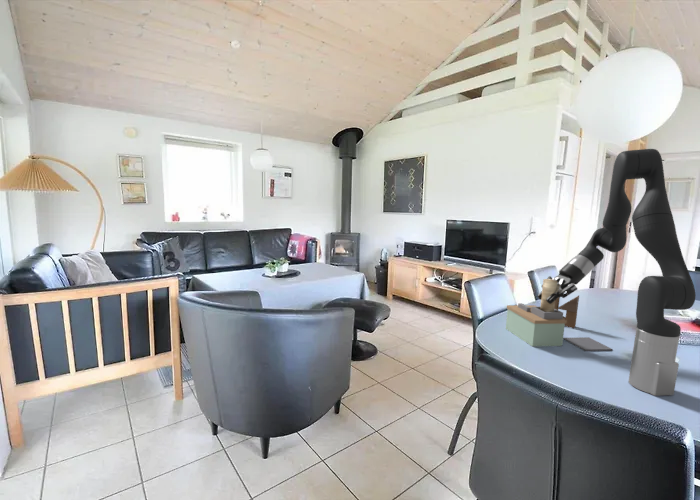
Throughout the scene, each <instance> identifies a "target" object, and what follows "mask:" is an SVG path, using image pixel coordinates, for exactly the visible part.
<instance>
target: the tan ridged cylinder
mask: <svg viewBox="0 0 700 500" xmlns="http://www.w3.org/2000/svg"><path fill="white" fill-rule="evenodd" d="M542 285H543V288H542V287H541V288H542V289H541V291H542V297H541V300H540V305H539V307H540V310H542V311H544V312H554V306H555V301H554V302H552V303H551V304H549V303H548V302H547V301H546V299H547V298H548V297H549V296H550V295H551V294H553V293H554V292H555V290H556V287H557V281H556V280H552V279H547V278H544V279H543V281H542Z"/></svg>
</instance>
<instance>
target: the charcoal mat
mask: <svg viewBox="0 0 700 500" xmlns="http://www.w3.org/2000/svg"><path fill="white" fill-rule="evenodd" d="M563 341H566V342H568V343H569V344H571V345H573V346H575V347H576V348H579V350H582V351H584V352H610V351H611V352H612V351H613V348H611V347H609V346H607V345H605V344H603V343H601V342H599V341H597V340H595V339H594V338H591V337H587V336H586V337H579V336H578V337H563Z"/></svg>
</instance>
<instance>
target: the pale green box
mask: <svg viewBox="0 0 700 500" xmlns="http://www.w3.org/2000/svg"><path fill="white" fill-rule="evenodd" d="M506 309H507V312H506V323H505V329H506V330H507V331H508V332H510V333H511V334H513V336H516V337H518V338H519V339H520V340H521V341H523V342H525V343H527V344H528V345H530V346H531V347H534V348H536V347H563V342H564V339H563V338H564V334H565V327H566V326H565V324H566V322H567V320H565V319H563V316H564V312H563V311H562V310H559V309H558V310H556V309H554V312H544V311H542V310H540V306H537V305H528V304H527V305H526V304H525V303H518V304H516V305H508V304H507V305H506Z"/></svg>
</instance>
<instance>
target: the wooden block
mask: <svg viewBox="0 0 700 500" xmlns="http://www.w3.org/2000/svg"><path fill="white" fill-rule="evenodd" d="M560 299H561V297H560V298H557V299H556V300H555V306H554V309H556V310H558V311H559V310H560V311H565V316H564V315H563V319H565V320H567V322H566V324H565V327H567V328H571V329H574V328H575V327H576V324H577V316H578V308H579V301H580V295H577V296H575V297H574V298H572V299H570V300H569V301H567V302H565V303H564V304H562V305H560ZM559 305H560V306H559Z"/></svg>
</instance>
